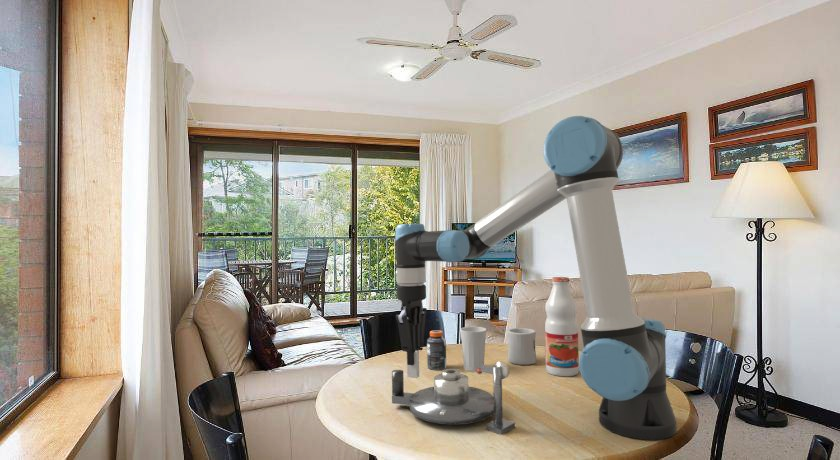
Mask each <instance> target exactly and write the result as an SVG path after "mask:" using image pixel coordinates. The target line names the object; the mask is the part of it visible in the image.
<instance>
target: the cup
mask: <svg viewBox="0 0 840 460" xmlns="http://www.w3.org/2000/svg"><path fill="white" fill-rule="evenodd" d="M459 331H460V339H461V350H462V360H463V370H465V371H468V372H477V369H478V368H481V366H482V365H485V355H486V354H485V353H486V340H487V339H486V338H487V337H486V336H487V328H486V327H482V326H464V327H461V328H460V329H459Z"/></svg>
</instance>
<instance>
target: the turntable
mask: <svg viewBox="0 0 840 460" xmlns="http://www.w3.org/2000/svg"><path fill="white" fill-rule="evenodd" d="M404 385H405V384H404V370H403V369H394V370H392V371H391V391H392V392H391V393H392V394H391V395H392V396H391V404H396V405H405V406H409V411H410V412H411V414H412V415H413V416H414V417H417V419H420V420H423V421H426V422H430V423H434V424H441V425H467V424H473V423H478V422H482V421H483V420H487V419H488V418H490V417H492V416H494V394H492V393H490V392H488V391H486V390H484V389H481V388H478V387H473V386H469V385H468V388H469V401H468V402H467V403H465V404H462V405H457V406H447V405H441V404H438V403H437V402H435V400H434V386H430V387H426V388H422V389H420V390H417V391H415V392H414V393H412V392H406V391H404V389H405V388H404Z"/></svg>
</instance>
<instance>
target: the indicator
mask: <svg viewBox="0 0 840 460" xmlns="http://www.w3.org/2000/svg"><path fill="white" fill-rule="evenodd" d="M476 373H477V374H479V375H480V374H482V373H485V374H490V375H493V376H492V377H493V396H494V414H493V420H492V421H490V422H487V423H486V424H485V430H487V431H488V432H489V431H490V432H492V433H495V434H497V435H498V434H499V435H500V436H502V435H504V434H506V433H507V432H509V431H511V430H513V429H514V428H515V427H516V422H514V421H512V420H511V421H510V420H508V419H504V417H503V380H504V379H507V378H508V377H509V374H510V368H509V366H508V365H507V363H506V362H504V361H498V362H495V363H494V364H493V366H491V365H486V364H484V365H482V366H481V368H478V369H477V371H476Z"/></svg>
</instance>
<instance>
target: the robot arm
mask: <svg viewBox="0 0 840 460" xmlns="http://www.w3.org/2000/svg"><path fill="white" fill-rule="evenodd" d="M544 139H545V140H544V142H543V147H542V148H543V150H542V151H543V152H542V153H543V158H544V161H545V164H546V165H547V166H548V167H549V169H550V170H549V171H547V172H546V173H544V174H543V175H541V176H540V177H538V178H537V179H535V180H534V181H533V182H532V183H529V185H527V186H526V187H524V188H522V189H521V190H520V191H518V192H517V193H515V194H514V195H513V196H511V197H510V198H509V199H507V200H506V201H504V202H503V203H501V204H500V205H499V206H497V207H496V208H495V209H493V210H492V211H490V212H489V213H487V214H486V215H484V216H483V217H481V218H479V220H478V221H476V222H475V223H473V224H472V225H470V226H468V227H467V228H466V229H465V230H464V229H463V230H459V229H458V230H456V229H447V230H429V231H428V230H426V229H425V225H424V223H403V224H402V223H399V224H398V225H397V226H396V227H395V239H394V243H395V259H396V261H395V262H396V265H395V266H396V271H395V274H396V283H397V286H396V300H398V301H400V302H401V305H400V311H401V312H400V314H396V315H395V321H396V323H397V328H398V332H399V333H398V334H399V340H400V345H401V346H400V348H401V351H402V352H406V372H407V373H406V374H407V377H408V378H415V379H417V378H419V377H420V351H423V348H424V347H423V346H424V337H425V328H426V327H425V324H426V316H427V311H428V310H427V309H428V308H426V307H423V302H422V301H424V300H425V299H426V298H427V286H426V284H425V283H427V272H426V262H444V263H445V262H447V263H457V262H463V261H465V260H469V259H470V260H471V259H472V260H475V259H476V260H477V259H479V258H482V257H484V256H486V255H487V254H488V253H489V251H490V249H491V247H493V246H495V245H497V243H500V242H501V241H503V240H504V239H505V238H507V237H509V236H510V235H512V234H513V233H515V232H516V231H518V230H519V229H521V228H523V227H524V226H526V225H527V224H529V223H531V222H532V221H533V220H535V219H537V218H538V217H539V216H542V215H543V214H545V213H546V212H547V211H549V210H551V209H552V208H553V207H555V206H557V205H558V204H560V203H561V202H563V201H564V200H565V199H566V202H567V208H568V212H569V213H568V214H569V219H570V225H571V231H572V237H573V243H574V248H575V249H574V250H575V255H576V261H577V266H578V271H579V279H580V283H581V285H580V286H581V289H582V296H583V301H584V307H585V314H586V318H585V319H584V321H583V322H582V324H581V325H580V333H581V337H582V343H583V349H582V350H581V353H580V356H579V371H580V375H581V378H582V379H583V381H584V382H585V384H586V385H587V387H589V389H591V391H593V392H594V393H596V394H597V395H598V396H600V397H601V398H602V399H601V402H600V405H599V408H598V421H599V425H601V426H602V427H603V428H604V429H606V430H608V431H610V432H612V433H615V434H618V435H621V436H624V437H628V438H631V439H639V440H647V441H648V440H655V441H656V440H665V439H668V438H672V437H673V436H675V435H676V433H677V419H676V415H675V413H674V411H673V410H674V409H673V407H672V404H671V402H670V399H669V397H668V394H667V368H666V367H667V363H666V361H667V358H666V357H667V356H666V353H667V352H666V351H667V349H666V338H667V333H666V326H665V324H664V323H663V322H662V321H661V320H659V319H653V318H652V319H651V318H644V317H643V318H641V317H640V316H639V315H637V314H636V313H635V311H634V304H633V299H632V294H631V293H632V292H631V289H630V282H629V277H628V271H627V266H626V262H625V261H626V260H625V259H626V258H625V254H624V250H623V245H622V244H623V243H622V239H621V238H622V237H621V233H620V227H619V222H618V217H617V212H616V211H617V210H616V206H615V200H614V194H613V190H614V187H615V186H616V185H617V183H618V182H619V180H620V179H619V174H618V169H619V167H620V165H621V164H622V160H623V156H624V146H623V143H622V141H621V139H620V137H619V136H618V135H617V133H616V132H615V131H614V130H612V129H610V128H608V127H606V126H605V125H604V124H602V123H601V122H600V121H598V120H597V119H596V118H592V117H589V116H585V115H584V116H583V115H574V116H569V117H566V118H563V119H562V120H560V121H559V122H557V123H556V124H555V125H554V126H553V127H551V129H550V130H549V132H548V133H547V135H546V137H545V138H544Z"/></svg>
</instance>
